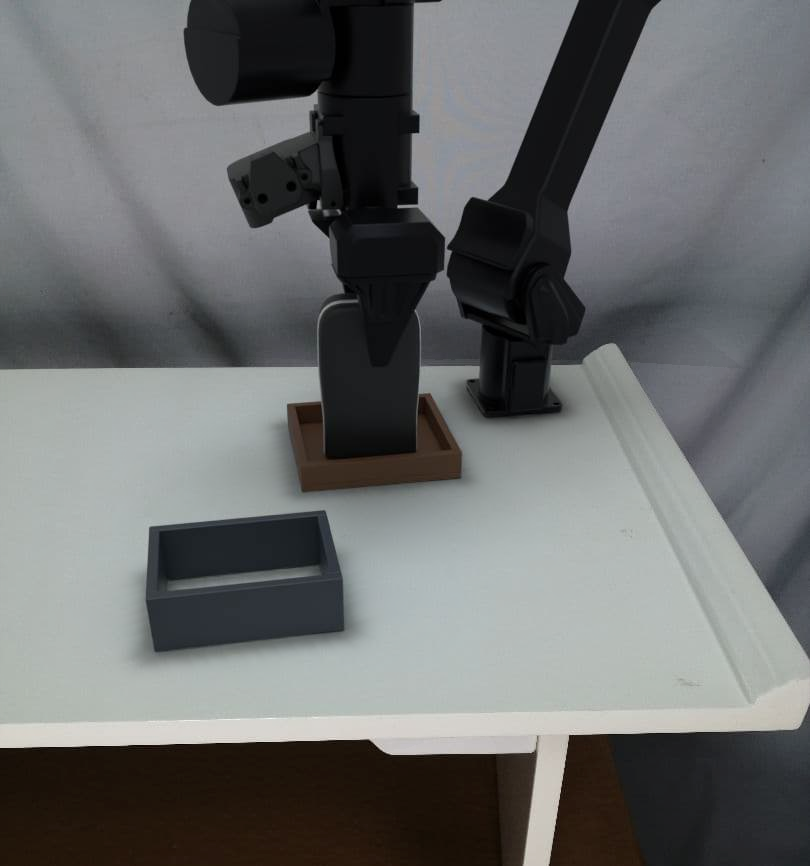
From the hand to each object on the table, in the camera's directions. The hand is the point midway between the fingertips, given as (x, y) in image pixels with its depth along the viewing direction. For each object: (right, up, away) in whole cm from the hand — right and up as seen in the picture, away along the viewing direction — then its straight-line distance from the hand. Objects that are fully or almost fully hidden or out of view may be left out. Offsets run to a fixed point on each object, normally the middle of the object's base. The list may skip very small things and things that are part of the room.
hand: (367, 340), depth 65 cm
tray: (0, -7, +5) cm, 9 cm away
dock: (-6, -17, -11) cm, 21 cm away
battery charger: (0, -7, +4) cm, 8 cm away
